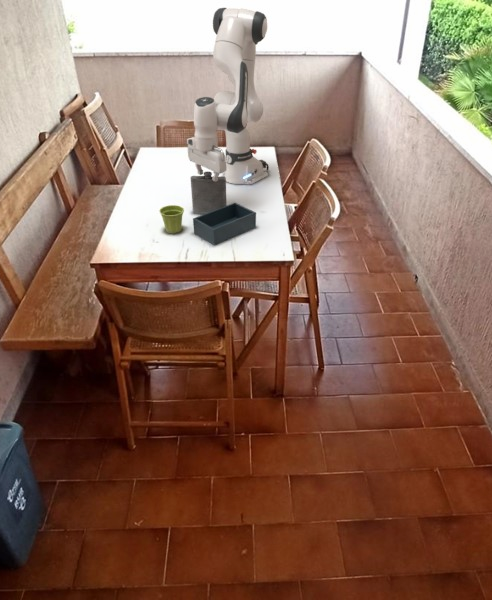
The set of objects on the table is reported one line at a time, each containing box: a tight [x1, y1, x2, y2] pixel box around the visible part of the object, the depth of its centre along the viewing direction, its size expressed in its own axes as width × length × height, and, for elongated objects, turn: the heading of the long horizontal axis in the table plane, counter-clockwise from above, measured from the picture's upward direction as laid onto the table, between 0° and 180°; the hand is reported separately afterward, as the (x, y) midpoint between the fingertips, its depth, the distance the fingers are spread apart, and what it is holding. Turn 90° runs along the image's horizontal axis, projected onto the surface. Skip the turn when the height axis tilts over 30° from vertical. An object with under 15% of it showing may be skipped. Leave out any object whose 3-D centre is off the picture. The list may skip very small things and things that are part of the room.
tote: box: [192, 202, 257, 246], centre depth 191 cm, size 22×13×7 cm, turn 133°
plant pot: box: [158, 204, 185, 234], centre depth 190 cm, size 9×9×9 cm
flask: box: [190, 171, 228, 216], centre depth 200 cm, size 4×14×18 cm, turn 88°
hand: (207, 177), depth 196 cm, fingers open, 8 cm apart
